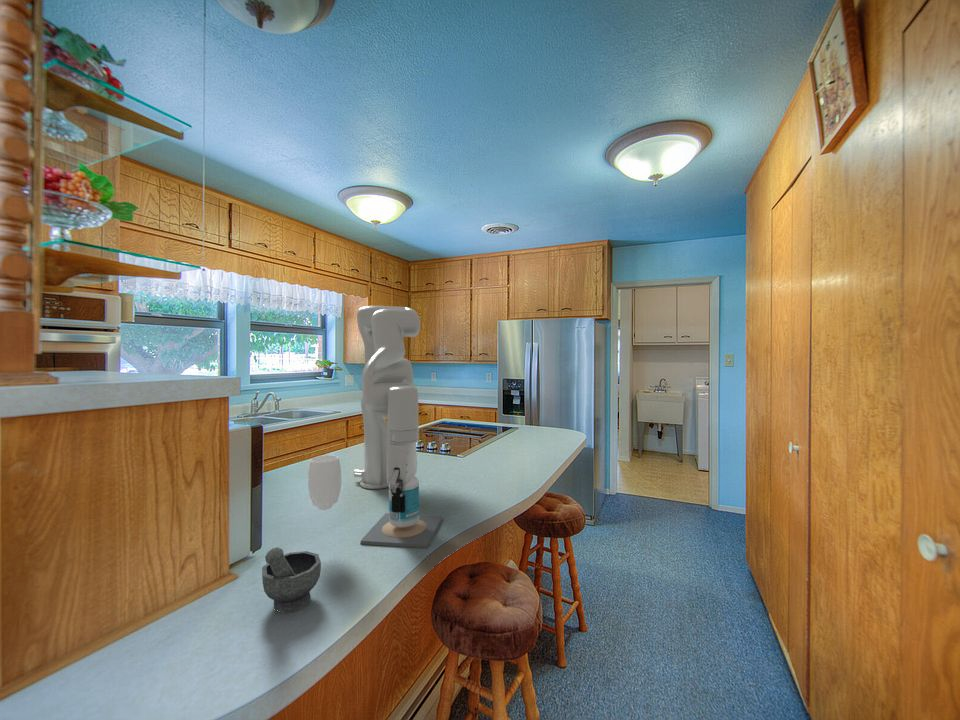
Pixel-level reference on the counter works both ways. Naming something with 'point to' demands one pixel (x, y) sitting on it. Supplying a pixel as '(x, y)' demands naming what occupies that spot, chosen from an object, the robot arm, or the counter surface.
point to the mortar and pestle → (290, 578)
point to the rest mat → (403, 532)
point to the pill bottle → (406, 505)
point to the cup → (324, 481)
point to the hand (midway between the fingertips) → (403, 504)
